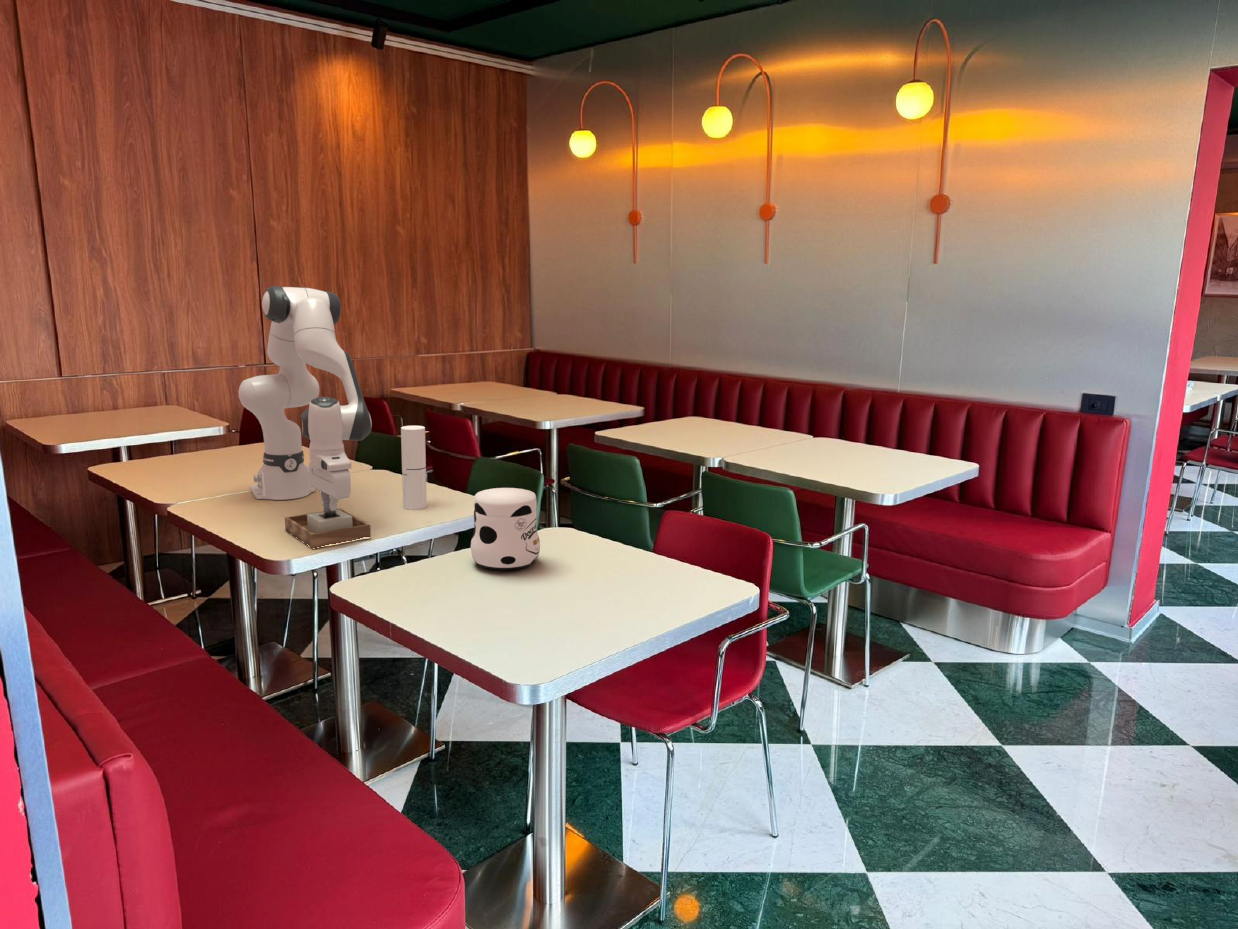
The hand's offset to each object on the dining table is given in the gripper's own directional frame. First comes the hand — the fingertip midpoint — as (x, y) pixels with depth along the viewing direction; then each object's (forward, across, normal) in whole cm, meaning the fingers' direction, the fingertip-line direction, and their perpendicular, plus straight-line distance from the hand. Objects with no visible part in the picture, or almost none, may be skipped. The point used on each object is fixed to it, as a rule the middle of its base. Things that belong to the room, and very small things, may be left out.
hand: (329, 508), depth 236 cm
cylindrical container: (+8, -15, +33) cm, 37 cm away
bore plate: (+8, 0, 0) cm, 8 cm away
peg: (+4, 0, 0) cm, 4 cm away
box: (+8, -2, 0) cm, 8 cm away
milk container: (+9, +47, +26) cm, 54 cm away
